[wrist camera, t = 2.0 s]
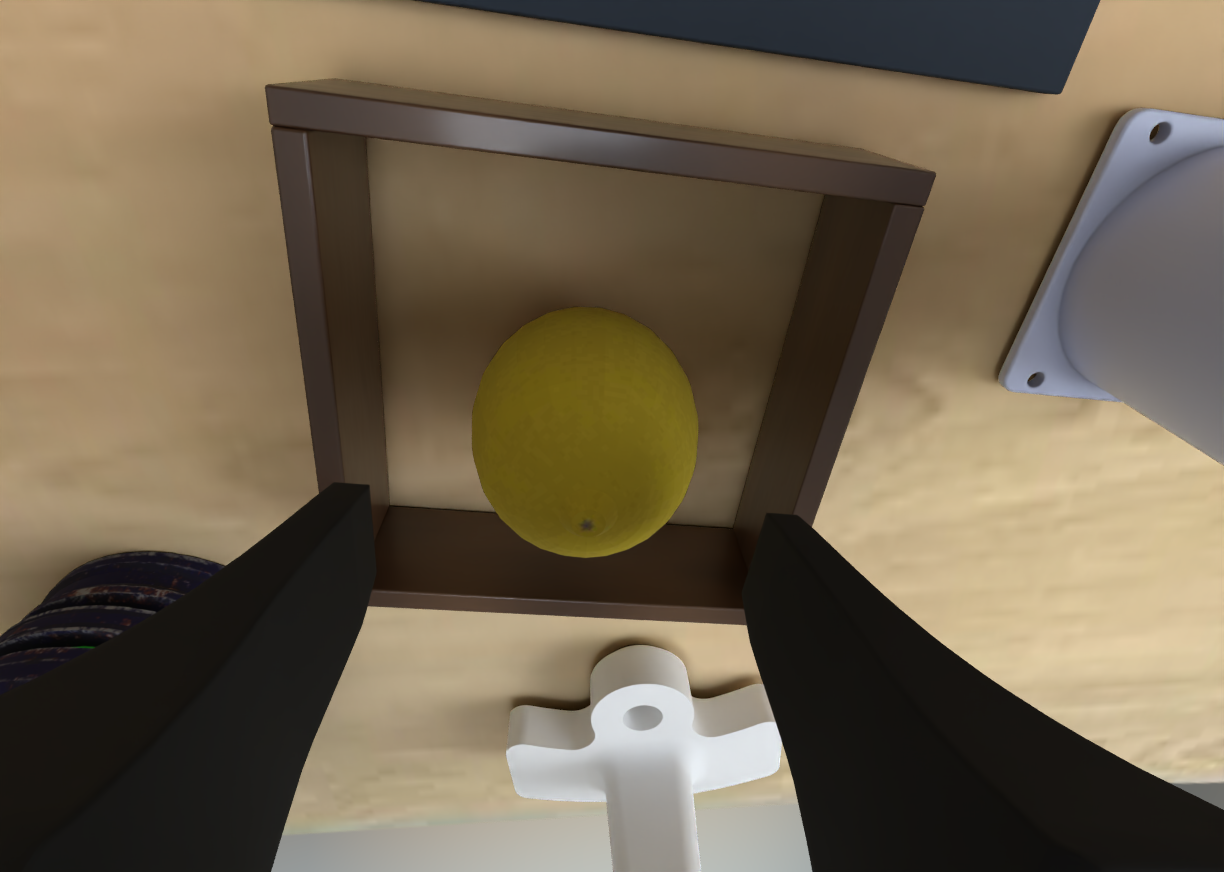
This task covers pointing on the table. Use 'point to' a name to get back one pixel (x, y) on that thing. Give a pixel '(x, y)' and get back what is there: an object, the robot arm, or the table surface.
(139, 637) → the robot arm
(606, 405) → the lemon
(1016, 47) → the mat
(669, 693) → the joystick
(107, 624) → the dark navy cylinder
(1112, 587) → the table surface
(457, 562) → the wooden frame
